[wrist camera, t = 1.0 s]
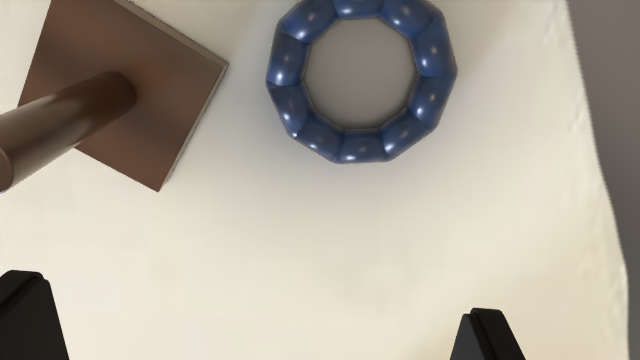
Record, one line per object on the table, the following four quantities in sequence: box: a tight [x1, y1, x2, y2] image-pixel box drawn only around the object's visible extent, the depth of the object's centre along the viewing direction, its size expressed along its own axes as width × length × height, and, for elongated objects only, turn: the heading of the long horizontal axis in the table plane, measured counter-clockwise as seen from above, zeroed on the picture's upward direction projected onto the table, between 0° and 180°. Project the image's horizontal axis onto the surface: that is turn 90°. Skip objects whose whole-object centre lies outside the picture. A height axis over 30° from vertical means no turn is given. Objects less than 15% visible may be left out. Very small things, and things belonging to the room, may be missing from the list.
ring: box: [266, 0, 458, 164], centre depth 23 cm, size 10×10×2 cm
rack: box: [0, 0, 229, 194], centre depth 20 cm, size 9×9×12 cm
